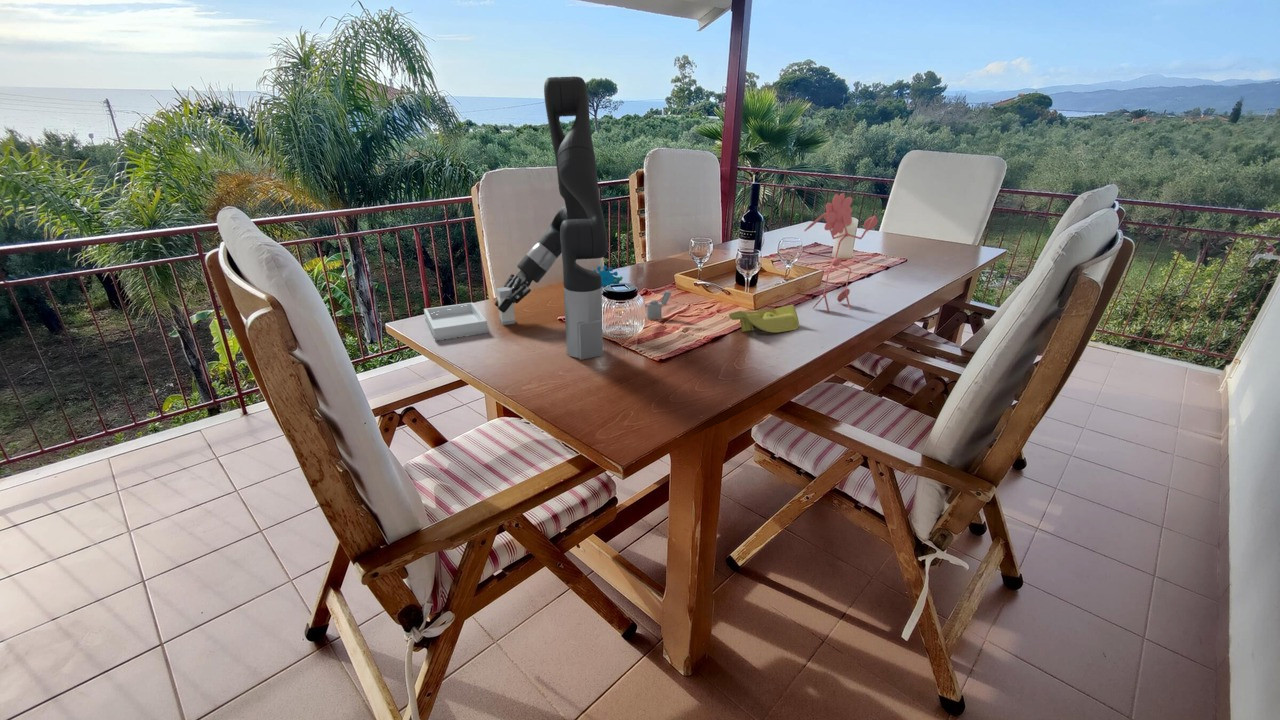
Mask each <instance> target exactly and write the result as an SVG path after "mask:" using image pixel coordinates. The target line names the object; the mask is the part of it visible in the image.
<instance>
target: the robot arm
mask: <svg viewBox="0 0 1280 720" xmlns="http://www.w3.org/2000/svg"><path fill="white" fill-rule="evenodd" d="M587 87H588V86H587V84H586V82H585V80H584V79H583V78H582V77H580V76H572V75H571V76H554V77H553V76H552V77H547V78H546V79H545V80H544V85H543V93H544V95H543V97H544V104H545V109H546V110H545V111H546V117H547V122H548V129H549V134H550V138H551V143H552V147H553V151H554V153H553V154H554V157H555V164H556V171H557V172H556V174H557V183H558V191H559V195H560V196H561V198H562V199H563V200H564V205H563V206H562V207H561V208H559V210H557V212H556V214H555V215H554V216H553V219H552V221H551V223H550V224H549V227H548V229H547V230H546V231H545V232H544V234H543V235H542V236H541V237H540V239H539V240H538V241H537V242H536V243H535V244H534V245H533V246H532V247H531V248H530V249H529V250H528V252H526V254H525V255H524V257H523V258H522V259H521V260H520V261H519V263H518V264H517V268H518V269H519V270H520V271H519V272H518V273H516V274H515V275H514V273H512V274H510V275H509V277H508V279H507V280H506V282H505V284H504V285H503V287H510V288H511V289H510V291H511V292H510V293H509V295H508V296H507V299H505V300H504V301H503V302H502V304H501V305H500V306H499V307H498V299H496V301H495V302H494V306H495V307H497V309H498V311H499V310H500V311H502V312H503V313H505V312H506V310H507V309H508V308H509V307H510V306H511V304H512V303H514V304H519V303H520V302H521V301H522V300H523V299H524V298H526V296H528V294H530V293H531V291H532V289H530V288H529V287H530V286H531V284H532V282H534V283H536V284H538V283H539V282H540V281H541V280H542V278H543V277H544V276H545V275H547V272H548V271H549V270H550V269H551V267H552V266H553V265H554V264H555V262H556V261H557V259H558V258H559V257H560V255H561V258H562V259H561V261H562V274H563V275H562V277H563V279H562V280H563V297H564V298H563V300H564V319H565V320H564V321H565V322H564V324H565V341H566V354H567V355H569V356H570V357H573V358H577V359H579V360H581V361H582V360H587V359H592V358H597V357H602V356H604V347H603V346H604V342H603V341H604V339H603V338H604V337H603V336H604V335H603V333H604V332H603V287H602V278H601V276H600V274H599V272H598V271H596V272H594V270H591V269H588V268H585V267H584V266H583V267H582V266H581V265H579V264H578V263H577V260H593V259H595V260H596V259H598V260H599V259H602V258H604V257H606V255H607V254H608V249H609V248H608V247H609V244H608V241H609V240H608V233H607V228H606V222H605V218H604V213H603V208H602V204H601V199H600V197H601V196H600V189H599V181H598V172H597V164H596V156H595V155H596V154H595V151H594V150H595V149H594V144H593V138H592V137H593V136H592V132H591V130H592V129H591V121H590V107H589V106H590V105H589V104H590V102H589V94H588V88H587ZM561 117H575V119H574V122H573V124H572V126H571V128H570V129H569V130H568V132H567V133H566V135H565V133H564V131H563V127H562V125H561V121H560V118H561Z"/></svg>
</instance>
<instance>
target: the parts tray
mask: <svg viewBox="0 0 1280 720" xmlns="http://www.w3.org/2000/svg"><path fill="white" fill-rule="evenodd" d="M464 305H467V306H464ZM461 306H463V307H461ZM447 309H451V310H447ZM437 311H439V312H437ZM423 312H424V317H425V318H424V319H425V320H424V321H425V322H426V324H428V325H427V326H428V328H429V331H430V333H431V335H432V338H433V339H435V340H434V342H438V341H437V340H439V341H445V340H444V339H446V340H451V338H452V339H457V337H459V338H464V337H463V336H465V337H469V336H470V335H471V336H477V335H476V334H478V335H482V334H483V333H484V334H488V333H489V330H488V329H489V328H488V321H487V318H485V317H484V315H483V314H482V313H481V311H480V310H479V309H478V307H477V306H476V304H475V303H474V302H465V303H458V304H451V305H443V306H436V307H428V308H423ZM433 312H435V313H433ZM431 313H433V314H431ZM436 314H438V315H436Z"/></svg>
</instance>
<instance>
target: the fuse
mask: <svg viewBox="0 0 1280 720" xmlns="http://www.w3.org/2000/svg"><path fill="white" fill-rule="evenodd" d="M510 289H511V288H510V287H504V286H503V287H497V288H496V298H497V299H496V300H498V307H499V306H500V305H501V304H502V302H503V301H504V300H505V299H507V296H508V295H509V293H510V292H511V291H510ZM514 304H515V303H512V304H511V306H510V307H509V308H508V309H507V310H506V312H505V313H503V312H502V311H500V310H499V309H498V317H499V322H500V323H501V325H502V326H507V325H514V324H516V316H515V305H514ZM498 307H497V308H498Z"/></svg>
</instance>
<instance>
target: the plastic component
mask: <svg viewBox="0 0 1280 720" xmlns="http://www.w3.org/2000/svg"><path fill="white" fill-rule="evenodd" d="M728 316H729V318H730V319H731V320H733V321H737V320H740V327H741V332H749V331H753V330H755V328H757V329H759V330H761V331H763V332H766V333H772V334H773V333H774V334H775V333H776V334H777V333H778V334H779V333H783V332H789V331H795V330H797V329H798V328H799V326H800V320H799V317H798V313H797V310H796V306H794V304H788V305H786V306H780V307H777V308H772V309H764V310H763V309H762V310H755V311H754V310H753V311H748V312H746V311H744V310H738V311H735V312H731V313H728ZM754 327H755V328H754Z"/></svg>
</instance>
